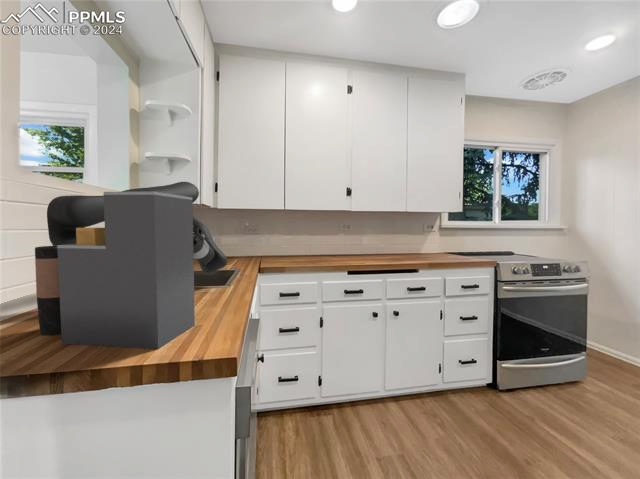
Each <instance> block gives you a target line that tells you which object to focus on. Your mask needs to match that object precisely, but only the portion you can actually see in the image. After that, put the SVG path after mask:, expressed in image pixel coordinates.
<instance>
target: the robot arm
mask: <svg viewBox="0 0 640 479" xmlns="http://www.w3.org/2000/svg"><path fill="white" fill-rule="evenodd" d="M120 192H160V193H167V194H173V195H180V196H186V197H192V202H193V203H194V202H196V201H197V199H199V195H200V191H199V189H198V187H197V186H196V185H195V184H194V183H192V182H188V181H178V182H175V183H171V184H167V185H166V184H165V185H157V186H150V187H138V188H129V189H125V190H121V191H120ZM46 219H47V220H46V221H47V230H48V238H49V242H50V244H51V246H57V245H65V244H77V237H76V228H89V227H92V226H95V225H97V224H100V223H105V220H104V195H81V194H80V195H74V194H72V195H59V196H56V197H54V198H53V199H52V200H50V202H49V203H48V205H47V210H46ZM193 255H194V259H195V260H196V261H197V262H198V264H199V266H200V269H201V271H202V272H203V273H204V274H207V275H209V274H212V273H214V272H217V271H218V270H220V269H222V268H224V267H226V266H227V264H228V258H227V256H226V254H225V253H224V252H223V251H222V250H221V249H220V248H219V246H217V244H216V243H215V241H214V239H213V237H212V234H211V233H210V231H209V229H208V228H207V226H206V225H205V224H204V223H202V222H201V221H200V220H198V219H197V218H196V217H195V216H193Z"/></svg>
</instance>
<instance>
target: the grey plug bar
mask: <svg viewBox="0 0 640 479" xmlns="http://www.w3.org/2000/svg"><path fill="white" fill-rule="evenodd" d="M76 237H77V245H104V244H105V227H85V228H76Z"/></svg>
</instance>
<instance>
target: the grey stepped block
mask: <svg viewBox="0 0 640 479" xmlns="http://www.w3.org/2000/svg"><path fill="white" fill-rule="evenodd" d="M102 193H103V196H104V220H105V221H104V228H105V244H104V245H77V244H65V245H57V250H58V271H59V293H60V314H61V334H60V335H61V344H65V345H82V346H98V347H99V346H101V347H117V348H118V347H119V348H132V349H133V348H135V349H150V350H153V349H154V350H159V349H160V348H163V346H165V345H167V344H168V343H170V342H171V341H173V340H174V339H176V338H178V337H179V336H180V335H182V334H184V333H185V332H186V331H188V330H190V329H192V328H193V327H194V326H195V324H196V323H195V322H196V320H195V317H196V316H195V310H196V309H195V269H194V268H195V267H194V265H195V264H194V263H195V260H194V259H195V258H194V255H193V217H194V214H193V211H194V210H193V204H194V202H192V197H186V196H180V195H173V194H167V193H160V192H121V191H103V192H102Z"/></svg>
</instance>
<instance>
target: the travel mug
mask: <svg viewBox="0 0 640 479" xmlns="http://www.w3.org/2000/svg"><path fill="white" fill-rule="evenodd" d="M34 264H35V284H36V285H35V288H36V291H35V292H36V301H37V302H36V303H37V315H38V325H39V326H38V327H39V334H41V335H42V336H55V335H61V314H60V293H59V271H58V250H57V246H53V245H43V246H42V245H41V246H35V247H34Z"/></svg>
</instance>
